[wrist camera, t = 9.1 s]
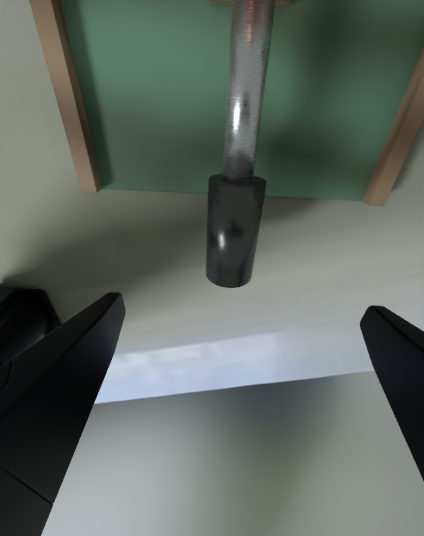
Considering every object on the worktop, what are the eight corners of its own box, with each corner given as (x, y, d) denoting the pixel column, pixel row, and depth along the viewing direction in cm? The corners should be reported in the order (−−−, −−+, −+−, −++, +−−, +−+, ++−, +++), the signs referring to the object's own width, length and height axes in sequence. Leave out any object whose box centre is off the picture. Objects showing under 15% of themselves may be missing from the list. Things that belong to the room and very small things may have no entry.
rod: (250, 248, 19) (261, 303, 14) (204, 246, 19) (198, 300, 14) (298, -76, 10) (381, -266, 5) (211, -79, 10) (199, -271, 5)
